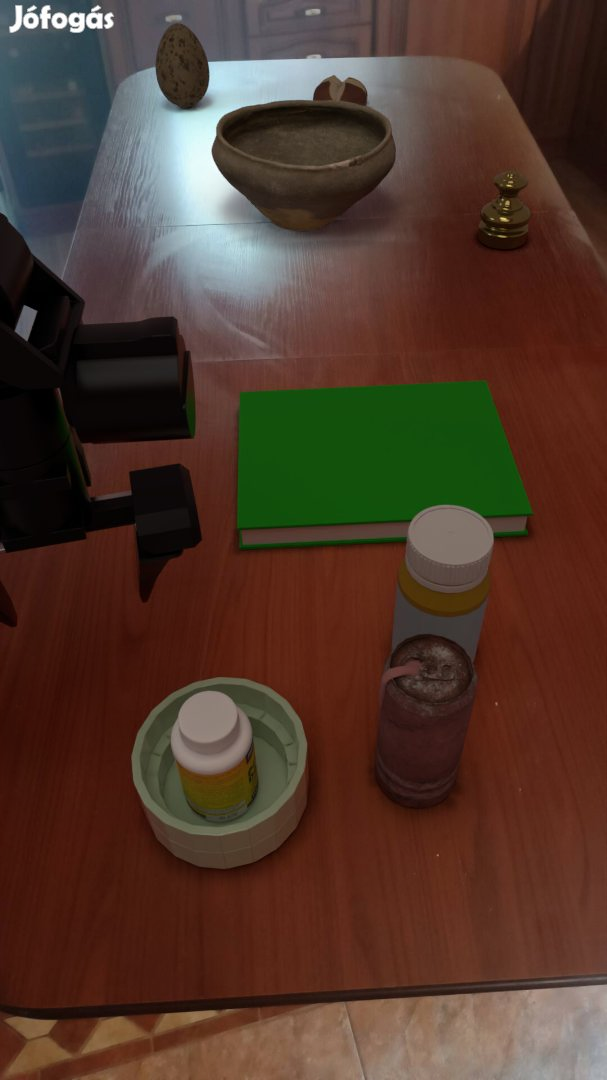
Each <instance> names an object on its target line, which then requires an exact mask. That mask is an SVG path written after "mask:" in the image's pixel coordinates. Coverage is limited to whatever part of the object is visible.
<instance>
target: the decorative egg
mask: <svg viewBox="0 0 607 1080" xmlns="http://www.w3.org/2000/svg"><path fill="white" fill-rule="evenodd" d="M154 66H155V76H156V82H157V85H158V88H159V90H160V92H161V93H162V95H163V96H164V97H165V99H166V100H167V101H168V102H169V103H171V104H172V105H174V106H176V107H179V108H181V109H188V108H193V107H195V106H197V105H198V104H199V103H201V101H202V100H203V98H204V97H205V95H206V94H207V91H208V88H209V86H210V85H209V84H210V77H211V76H210V75H211V73H210V65H209V61H208V57H207V54H206V52H205V49H204V47H203V45H202V43H201V42H200V40H199V38H198V37H197V36H196V34H195V33H194V32H193V30H192V29H190V27H188V26H186V25H185V24H183V23H179V22H176V23H172V24H171V25H169V26H168V27H167V28H166V29H165V30H164V33H163V34H162V36H161V38H160V40H159V42H158V46H157V50H156V55H155V65H154Z"/></svg>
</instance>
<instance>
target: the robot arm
mask: <svg viewBox="0 0 607 1080" xmlns="http://www.w3.org/2000/svg"><path fill="white" fill-rule="evenodd" d="M24 307H28V308H29V309H32V310H34V311H36V313H35V317H34V319H33V323H32V324H31V325H32V326H31V329H30V332H29V335H28V336H27V337H28V338H27V339H25V338H24V337H22V335H20V334H19V333H18V332H16V330H17V326H18V324H19V321H20V318H21V316H22V312H23V311H24ZM85 308H86V301H85V300H84V298H83V297H82V296H80V295H79V293H77V292H76V291H75V290H74V289H73V288H71V286H69V285H68V284H67V283H66V282H65V281H64V280H63V279H62V278H60V277H59V276H58V275H57V274H56V273H55V272H54V271H52V270H51V269H50V268H49V267H48V266H47V265H46V264H45V263H43V262H42V261H41V260H40V259H39V258H38V257H36V256H35V255H34V253H32V251H31V249H30V247H29V245H28V244H27V242H26V240H25V237H24V236H23V235H22V234H21V232H19V230H18V229H17V228H16V227H15V226H14V225H13V224H12V223H11V222H10V221H9V218H8V216H6V215H5V214H4V213H2V212H0V555H1V554H9V553H15V552H21V551H27V550H33V549H38V548H44V547H50V546H55V545H56V546H57V545H61V544H67V543H73V542H79V541H85V540H87V539H88V537H87V533H92V532H96V531H103V530H109V529H114V528H121V527H125V526H132V525H133V530H134V546H135V547H134V548H135V560H136V576H137V586H138V593H139V598H140V600H141V603H142V604H145V603H147V602H149V600H150V597H151V594H152V591H153V590H154V587H155V584H156V582H157V579H158V577H159V576H160V574H161V573H162V572H163V570H164V568H165V567H166V566H167V564H168V562H169V561H170V560H173V559H178V558H180V557H182V555H184V551H185V550H187V549H194V548H196V547H197V546H198V545H199V544H200V543H201V542H202V541H203V535H202V530H201V524H200V523H201V522H200V518H199V513H198V507H197V502H196V497H195V492H194V487H193V481H192V478H191V477H192V476H191V473H190V469H188V468H187V467H185V466H184V465H183V464H182V463H180V462H178V463H173V464H172V463H171V464H166V465H160V466H154V467H149V468H148V467H147V468H141V469H136V470H129V471H128V475H129V483H130V490H125V491H119V492H113V493H107V494H102V495H95V496H91V495H90V493H89V490H88V488H90V487H92V475H91V471H90V467H89V464H88V461H87V457H86V454H85V449H84V447H83V444H91V445H105V444H107V445H108V444H125V443H127V444H128V443H141V442H142V443H143V442H160V441H176V440H177V441H179V440H194V439H195V436H196V427H197V426H196V425H197V424H196V423H197V421H196V420H197V414H196V412H197V410H196V392H195V379H194V369H193V362H192V354H191V350H187V346H186V343H185V339H184V337H183V334H180V328H179V321H178V319H177V318H176V317H174V316H173V315H172V316H155V317H149V318H145V319H141V320H136V321H125V322H124V321H123V322H102V323H85V324H84V322H83V315H84V311H85ZM9 594H10V593H8V591H7V588H6V587H5V586H4V584H3V582H2V580H1V579H0V624H3V625H5V626H7V627H9V628H17V627H18V614H17V611H16V608H15V606H14V603H13V600H12V598H11V596H10V595H9Z"/></svg>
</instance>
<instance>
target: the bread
mask: <svg viewBox="0 0 607 1080" xmlns="http://www.w3.org/2000/svg"><path fill="white" fill-rule="evenodd" d="M312 100H313V101H316V100H318V101H326V100H337V101H345V102H351V103H355V104H358V105H362V106H365V107H366V104H367V103H368V90H367V88H366V86H365V85H364V84H363V83H362V82H361V80H359V79H356V78H354V77H350V76H349V77H346V78H345V79H344V80H343V81H342V80H340V78H339V77H337V76H336V75H335V74H333V75H331V76H329V77H328V76H327V77H326V78H324V79H323V80H322V81H321V82H320V83H319V84H317V86H316V87H315V88H314V91H313V96H312Z"/></svg>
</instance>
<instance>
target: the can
mask: <svg viewBox="0 0 607 1080" xmlns="http://www.w3.org/2000/svg"><path fill="white" fill-rule="evenodd" d="M478 681H479V677H478V673H477V669H476V665H475V664H474V662H473V663H472V659H471V658H470V656H469V655H468V653H467V652H466V650H465V649H464V648H463V647H462V646H460V645H459V644H458V643H457V642H456V641H454V640H451V639H449V638H447V637H445V636H442V635H436V634H431V633H430V634H417V635H414V636H411V637H408V638H406V639H404V640H403V641H402V642H400V643H399V644H398V645H397V646H396V647H395V648H394V649H393V650H392V649H391V650H390V652H389V653H388V654H387V656H386V658H385V660H384V662H383V667H382V671H381V678H380V682H379V689H378V702H379V703H378V704H379V707H378V720H377V732H376V746H375V759H374V772H375V779H376V781H377V782H378V785H379V787H380V789H381V790H382V791H383V792H384V793H385V794H386V795H387V797H389V798H390V799H391V800H393V801H395V802H396V803H398V804H400V805H401V806H404V807H410V808H414V809H419V808H420V809H421V808H431V807H432V806H435V805H437V804H440V803H441V802H442V801H444V800H445V799H446V798H447V797H448V796H449V795H450V794H451V793H452V790H453V789H454V786H455V785H456V781H457V776H458V772H459V769H460V768H459V767H460V763H461V759H462V754H463V750H464V746H465V742H466V737H467V734H468V729H469V725H470V721H471V716H472V712H473V708H474V704H475V699H476V695H477V691H478Z"/></svg>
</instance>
